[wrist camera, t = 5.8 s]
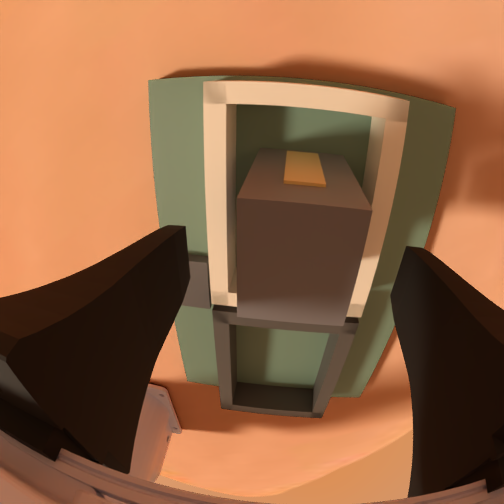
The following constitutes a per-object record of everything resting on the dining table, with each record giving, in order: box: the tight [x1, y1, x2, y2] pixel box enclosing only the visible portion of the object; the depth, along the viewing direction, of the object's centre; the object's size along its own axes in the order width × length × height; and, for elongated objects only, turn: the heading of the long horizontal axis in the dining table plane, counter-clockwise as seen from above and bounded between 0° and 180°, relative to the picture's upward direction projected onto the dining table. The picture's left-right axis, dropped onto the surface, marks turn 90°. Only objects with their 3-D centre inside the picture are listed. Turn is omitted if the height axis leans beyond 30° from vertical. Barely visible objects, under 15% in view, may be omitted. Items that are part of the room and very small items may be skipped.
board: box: [148, 76, 456, 418], centre depth 15 cm, size 20×13×3 cm, turn 179°
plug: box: [237, 148, 373, 326], centre depth 11 cm, size 4×3×6 cm
